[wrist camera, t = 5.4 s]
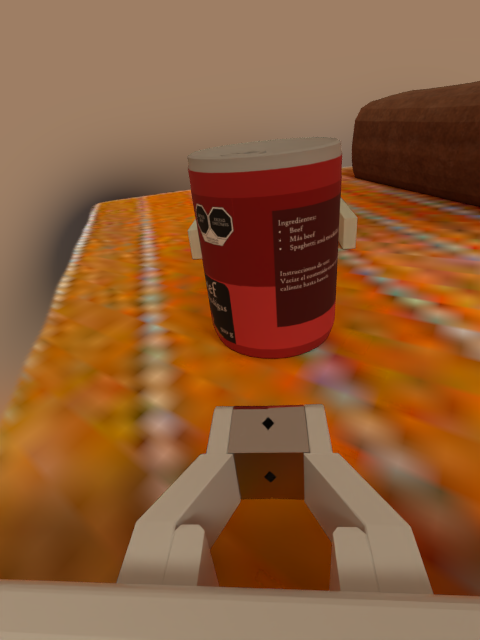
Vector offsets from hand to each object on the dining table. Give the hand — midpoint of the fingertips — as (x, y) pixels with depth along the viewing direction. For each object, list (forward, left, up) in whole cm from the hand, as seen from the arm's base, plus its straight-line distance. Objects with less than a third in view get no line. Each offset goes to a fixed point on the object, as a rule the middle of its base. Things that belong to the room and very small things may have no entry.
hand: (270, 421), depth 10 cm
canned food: (0, -13, -5) cm, 14 cm away
